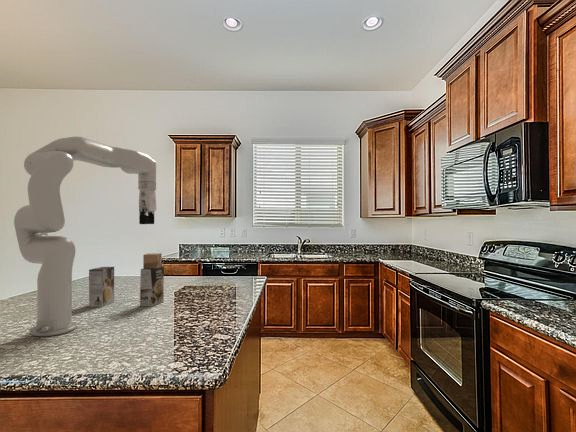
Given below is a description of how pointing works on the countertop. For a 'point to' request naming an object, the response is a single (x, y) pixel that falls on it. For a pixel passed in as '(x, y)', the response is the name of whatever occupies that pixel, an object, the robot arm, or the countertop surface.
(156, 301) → the coffee box
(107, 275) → the coffee box
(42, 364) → the countertop surface
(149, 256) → the tan cube
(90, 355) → the countertop surface
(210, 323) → the countertop surface
